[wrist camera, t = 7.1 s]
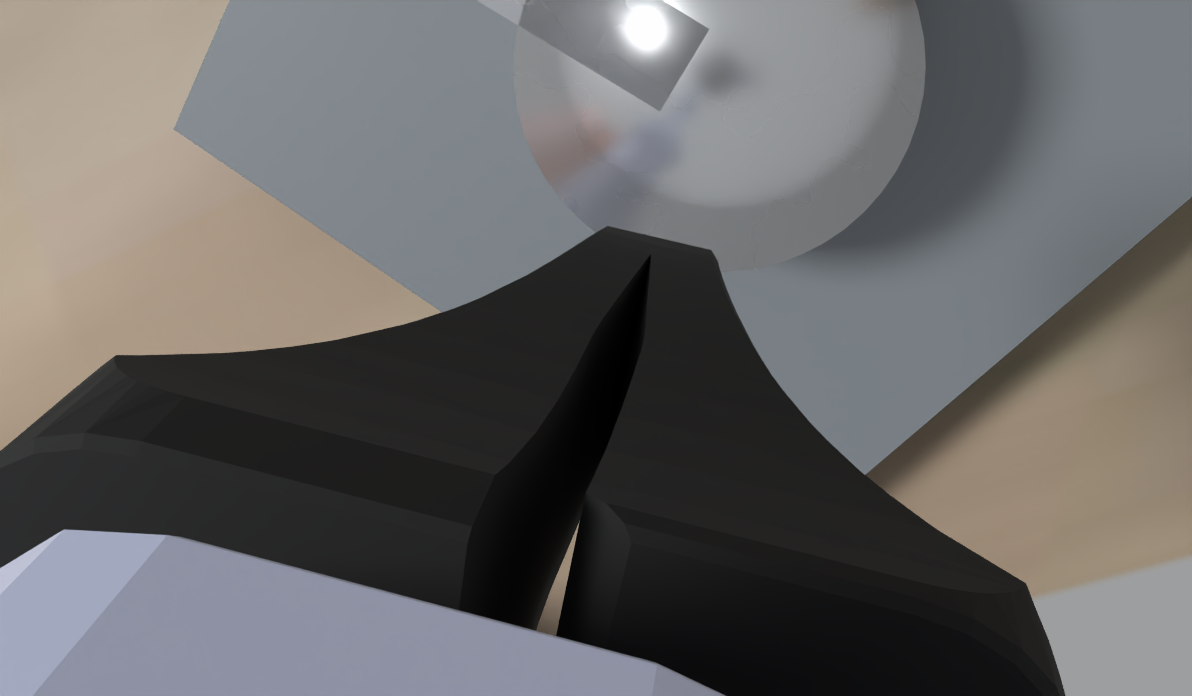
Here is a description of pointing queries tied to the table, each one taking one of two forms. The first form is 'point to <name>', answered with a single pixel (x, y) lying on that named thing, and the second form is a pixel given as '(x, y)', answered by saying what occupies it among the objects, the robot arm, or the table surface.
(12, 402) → the table surface
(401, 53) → the dial board
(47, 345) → the table surface
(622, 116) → the dial
